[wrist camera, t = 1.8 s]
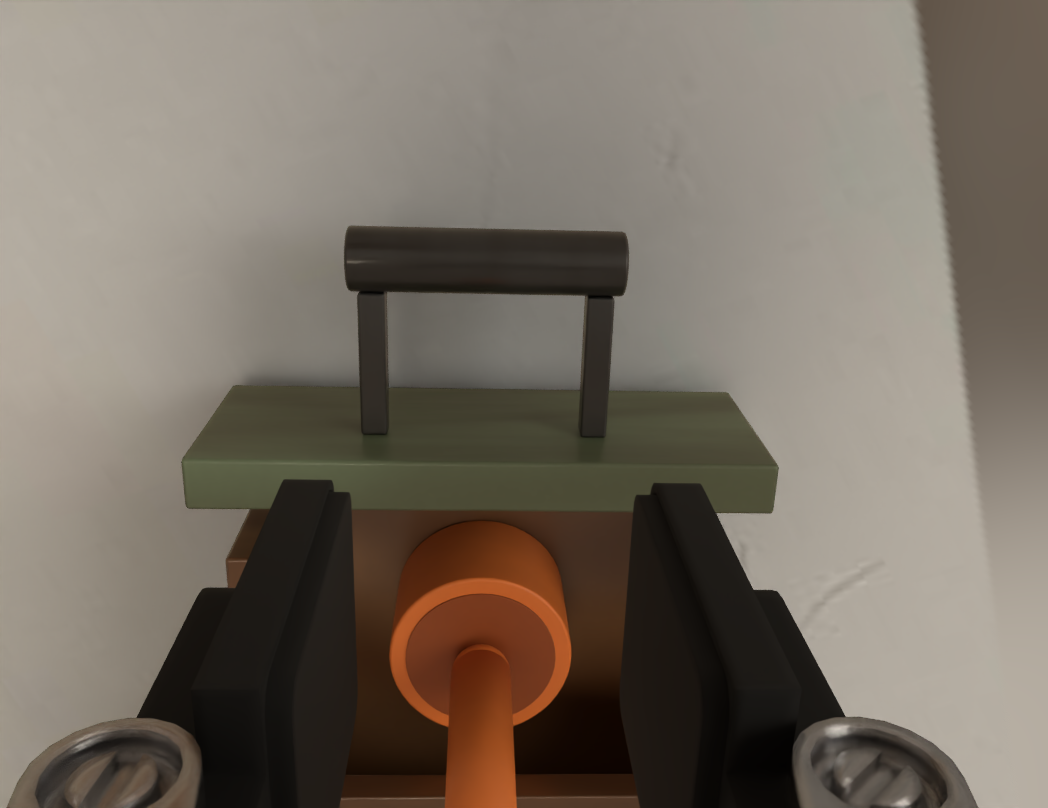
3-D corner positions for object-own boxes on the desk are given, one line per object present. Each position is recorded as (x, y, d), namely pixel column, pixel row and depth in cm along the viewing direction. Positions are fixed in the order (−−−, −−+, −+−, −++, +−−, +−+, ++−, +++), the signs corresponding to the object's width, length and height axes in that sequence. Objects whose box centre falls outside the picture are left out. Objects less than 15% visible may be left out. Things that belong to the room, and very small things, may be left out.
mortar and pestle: (397, 518, 26) (346, 819, 16) (565, 519, 26) (617, 817, 16) (399, 661, 27) (353, 1016, 17) (558, 661, 28) (602, 1013, 18)
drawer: (218, 199, 24) (157, 238, 19) (748, 211, 24) (808, 252, 20) (264, 802, 30) (226, 937, 26) (684, 800, 31) (719, 930, 26)
